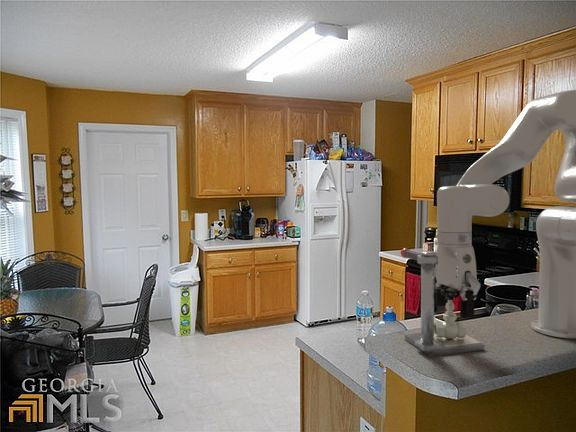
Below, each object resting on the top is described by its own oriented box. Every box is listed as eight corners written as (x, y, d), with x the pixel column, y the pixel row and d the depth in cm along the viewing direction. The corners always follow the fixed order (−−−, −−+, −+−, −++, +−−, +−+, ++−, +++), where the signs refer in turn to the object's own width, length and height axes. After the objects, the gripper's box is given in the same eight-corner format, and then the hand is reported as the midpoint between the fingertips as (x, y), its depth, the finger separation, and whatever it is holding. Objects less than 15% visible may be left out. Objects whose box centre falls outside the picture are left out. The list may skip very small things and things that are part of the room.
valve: (468, 343, 101) (469, 291, 100) (438, 343, 102) (439, 291, 101) (459, 333, 108) (460, 285, 107) (431, 333, 108) (432, 285, 108)
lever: (442, 266, 97) (442, 255, 97) (424, 267, 96) (424, 256, 96) (411, 256, 110) (411, 247, 110) (395, 257, 109) (395, 248, 109)
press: (455, 334, 111) (456, 244, 110) (484, 349, 101) (486, 250, 99) (401, 339, 108) (401, 247, 106) (425, 356, 97) (425, 254, 96)
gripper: (493, 242, 96) (493, 320, 97) (446, 234, 113) (447, 300, 114) (462, 244, 94) (462, 323, 95) (420, 235, 111) (420, 303, 112)
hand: (454, 310), depth 105 cm, fingers open, 9 cm apart
